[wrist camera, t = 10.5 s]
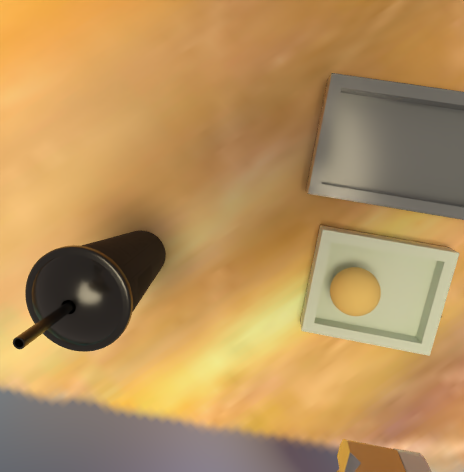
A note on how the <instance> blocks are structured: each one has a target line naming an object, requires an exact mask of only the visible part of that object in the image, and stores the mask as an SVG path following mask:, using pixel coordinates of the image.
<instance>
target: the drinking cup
mask: <svg viewBox="0 0 464 472" xmlns="http://www.w3.org/2000/svg"><path fill="white" fill-rule="evenodd" d="M164 261H165V249H164V246H163V244H162V242H161V241H160V239H159V238H158V237H156V236H155V235H154V234H152V233H150V232H147V231H135V232H131V233H127V234H123V235H120V236H116V237H112V238H108V239H105V240H101V241H97V242H93V243H90V244H86V245H82V246H65V247H61V248H57V249H55V250H52V251H50V252H49V253H47V254H45V255H44V256H43V257H41V258H40V259H39V260H38V261H37V262H36V264H35V265H34V266H33V268H32V270H31V272H30V274H29V276H28V279H27V283H26V303H27V307H28V311H29V313H30V316H31V318H32V320H33V321H34V323H35V325H33V326H32V327H30V328H29V329H28V330H26V331H25V332H23V333H22V334H20V335H19V336H18V337H16V338H15V339H14V340H13V345H14V346H15V347H16V348H17V349H22V348H24V347H25V346H26V345H28V344H29V343H30V342H32V341H33V340H34V339H36V338H37V337H38V336H40V335H41V334H42V333H43V334H44V335H45V336H46V337H47V338H48V339H50V340H51V341H53V342H54V343H56V344H58V345H59V346H62V347H64V348H67V349H70V350H74V351H94V350H98V349H101V348H104V347H106V346H108V345H110V344H111V343H113V342H114V341H115V340H117V339H118V338H119V337H120V336H121V334H122V333H123V332H124V330H125V329H126V327H127V326H128V324H129V321H130V318H131V315H132V312H133V310H134V309H135V307H136V306H137V304H138V303H139V301H140V300H141V298H142V297H143V295H144V294H145V292H146V291H147V289H148V287H149V286H150V284H151V283H152V281H153V280H154V278H155V277H156V275H157V274H158V272H159V271H160V269H161V268H162V266H163V264H164Z"/></svg>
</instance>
